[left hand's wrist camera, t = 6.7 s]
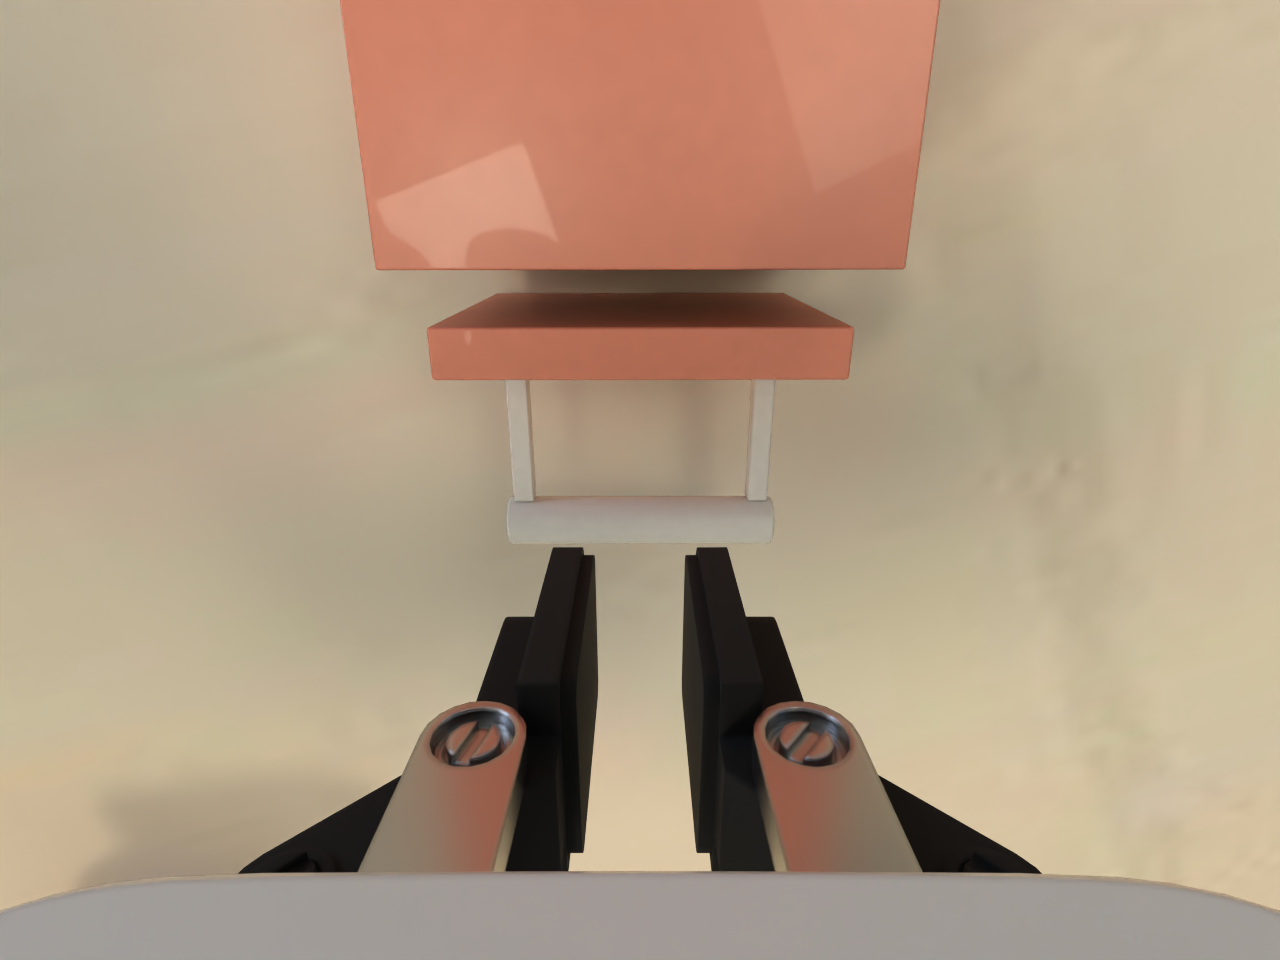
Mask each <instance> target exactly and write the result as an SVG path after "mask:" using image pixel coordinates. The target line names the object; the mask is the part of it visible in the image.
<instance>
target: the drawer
mask: <svg viewBox="0 0 1280 960" xmlns="http://www.w3.org/2000/svg"><path fill="white" fill-rule="evenodd" d="M853 334H854V328H853V327H851V326H849V325H847V324H845V323H843V322H841V321H839V320H837V319H835V318H833V317H831V316H829V315H827V314H825V313H823V312H821V311H819V310H816V309H814V308H812V307H810V306H808V305H806V304H804V303H802V302H800V301H798V300H796V299H794V298H792V297H790V296H788V295H786V294H784V293H498V294H495V295H493V296H491V297H489V298H487V299H485V300H483V301H481V302H479V303H477V304H475V305H473V306H471V307H469V308H467V309H465V310H463V311H461V312H459V313H457V314H455V315H453V316H451V317H449V318H447V319H445V320H443V321H441V322H439V323H437V324H435V325H433V326H431V327H429V328H427V336H428V345H429V354H430V363H431V372H432V378H433V379H434V380H505V381H506V395H507V409H508V423H509V436H510V450H511V464H512V478H513V492H514V497H511V498H510V501H509V503H508V509H507V534H508V538H509V541H510V543H512V544H768V543H770V542H771V541H772V538H773V534H774V508H773V503H772V500H771V498H770V497H768V496H767V488H768V474H769V460H770V446H771V431H772V417H773V403H774V389H775V380H817V379H848V377H849V371H850V362H851V353H852V343H853ZM529 380H751V397H750V414H749V432H748V449H747V466H746V483H745V494H746V496H535V495H536V483H535V466H534V450H533V433H532V416H531V400H530V383H529Z"/></svg>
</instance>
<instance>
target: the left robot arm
mask: <svg viewBox="0 0 1280 960" xmlns="http://www.w3.org/2000/svg"><path fill="white" fill-rule="evenodd" d="M597 698H598V657H597V619H596V580H595V556H594V555H584V550H583V547H553V549H552V553H551V556H550V560H549V564H548V567H547V571H546V575H545V579H544V582H543V586H542V590H541V593H540V597H539V601H538V604H537V608H536V612H535V616H534V617H506V618H505V620H504V622H503V625H502V628H501V631H500V634H499V637H498V640H497V643H496V645H495V648H494V651H493V654H492V657H491V660H490V663H489V666H488V669H487V672H486V674H485V677H484V680H483V683H482V686H481V689H480V692H479V695H478V698H477V701H476V702H469V703H466V704H462V705H459V706H455V707H453V708H451V709H449V710H447V711H445V712H443V713H441V714H439V715H438V716H437V717H436V718H434V719H433V720H432V721H431V722H430V723H428V725H427V726H426V728H425V729H424V730H423V732H422V733H421V735H420V737H419V739H418V741H417V743H416V746H415V748H414V750H413V752H412V754H411V756H410V759H409V761H408V763H407V765H406V767H405V770H404V772H403V774H402V775H401V776H399V777H398V778H396V779H394V780H392V781H391V782H389V783H387V784H385V785H384V786H382V787H380V788H378V789H377V790H375V791H373V792H371V793H370V794H368V795H366V796H364V797H363V798H361V799H359V800H357V801H356V802H354V803H352V804H350V805H349V806H347V807H345V808H343V809H342V810H340V811H338V812H336V813H335V814H333V815H331V816H329V817H328V818H326V819H324V820H322V821H321V822H319V823H317V824H315V825H314V826H312V827H310V828H308V829H307V830H305V831H303V832H301V833H300V834H298V835H296V836H294V837H293V838H291V839H289V840H287V841H286V842H284V843H282V844H280V845H279V846H277V847H275V848H273V849H272V850H270V851H268V852H266V853H265V854H263V855H261V856H260V857H259V858H257V859H256V860H254V861H253V862H251V863H250V864H249V865H247V866H246V867H244V868H243V869H242V870H241V871H240V872H239V873H238V874H225V875H200V876H175V877H158V878H149V879H140V880H132V881H123V882H114V883H108V884H103V885H98V886H93V887H88V888H83V889H78V890H73V891H68V892H63V893H59V894H54V895H51V896H47V897H44V898H41V899H37V900H34V901H31V902H28V903H24V904H21V905H18V906H14V907H11V908H8V909H4V910H1V911H0V960H1280V911H1279V910H1276V909H1272V908H1269V907H1266V906H1262V905H1259V904H1256V903H1252V902H1249V901H1246V900H1243V899H1239V898H1236V897H1233V896H1229V895H1226V894H1221V893H1217V892H1212V891H1207V890H1202V889H1197V888H1192V887H1187V886H1182V885H1177V884H1172V883H1166V882H1157V881H1148V880H1140V879H1131V878H1122V877H1105V876H1080V875H1054V874H1042V873H1041V872H1040V871H1039V870H1038V869H1037V868H1036V867H1034V866H1033V865H1031V864H1030V863H1029V862H1027V861H1026V860H1024V859H1023V858H1021V857H1020V856H1019V855H1017V854H1015V853H1014V852H1012V851H1010V850H1008V849H1007V848H1005V847H1003V846H1001V845H1000V844H998V843H996V842H994V841H993V840H991V839H989V838H987V837H986V836H984V835H982V834H980V833H979V832H977V831H975V830H973V829H972V828H970V827H968V826H966V825H965V824H963V823H961V822H959V821H958V820H956V819H954V818H952V817H951V816H949V815H947V814H945V813H944V812H942V811H940V810H938V809H937V808H935V807H933V806H931V805H930V804H928V803H926V802H924V801H923V800H921V799H919V798H917V797H916V796H914V795H912V794H910V793H909V792H907V791H905V790H903V789H902V788H900V787H898V786H896V785H895V784H893V783H891V782H889V781H888V780H886V779H884V778H882V777H881V776H879V775H878V774H877V772H876V770H875V767H874V765H873V763H872V761H871V759H870V756H869V754H868V752H867V750H866V748H865V746H864V743H863V741H862V739H861V737H860V735H859V733H858V732H857V730H856V729H855V728H854V726H853V725H852V723H850V722H849V721H848V720H847V719H846V718H844V717H843V716H842V715H841V714H839V713H837V712H835V711H833V710H831V709H829V708H827V707H825V706H821V705H818V704H814V703H811V702H804V701H803V698H802V695H801V692H800V689H799V686H798V683H797V680H796V677H795V674H794V672H793V669H792V666H791V663H790V660H789V657H788V654H787V651H786V648H785V645H784V642H783V640H782V637H781V634H780V631H779V628H778V625H777V622H776V620H775V618H774V617H746V616H745V612H744V608H743V604H742V601H741V597H740V593H739V590H738V586H737V582H736V579H735V575H734V571H733V567H732V564H731V560H730V556H729V553H728V549H727V547H697V550H696V555H686V556H685V581H684V619H683V657H682V698H683V709H684V720H685V732H686V743H687V754H688V765H689V776H690V787H691V798H692V809H693V821H694V832H695V843H696V851H697V853H710V861H711V870H712V871H568V870H569V861H570V853H583V851H584V843H585V832H586V821H587V810H588V798H589V787H590V776H591V765H592V754H593V743H594V732H595V721H596V709H597Z"/></svg>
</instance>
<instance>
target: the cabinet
mask: <svg viewBox="0 0 1280 960" xmlns="http://www.w3.org/2000/svg"><path fill="white" fill-rule="evenodd" d="M340 4H341V12H342V19H343V27H344V34H345V42H346V49H347V57H348V64H349V72H350V79H351V87H352V94H353V102H354V109H355V117H356V124H357V132H358V139H359V147H360V154H361V162H362V169H363V177H364V184H365V192H366V199H367V207H368V214H369V222H370V229H371V237H372V244H373V252H374V259H375V267H376V269H377V270H822V269H904V268H905V265H906V257H907V249H908V242H909V234H910V227H911V219H912V211H913V204H914V196H915V188H916V181H917V173H918V166H919V158H920V150H921V143H922V135H923V128H924V120H925V112H926V105H927V97H928V90H929V82H930V74H931V67H932V59H933V52H934V44H935V36H936V29H937V21H938V13H939V6H940V0H340Z"/></svg>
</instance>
